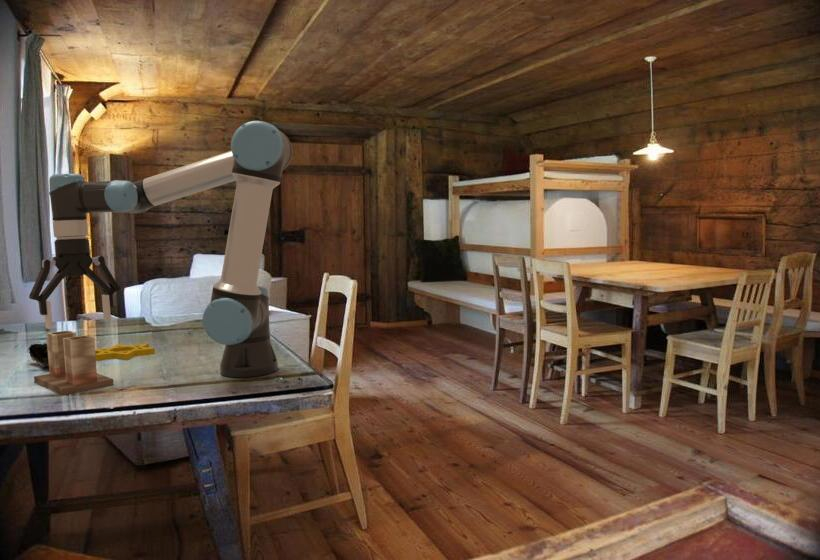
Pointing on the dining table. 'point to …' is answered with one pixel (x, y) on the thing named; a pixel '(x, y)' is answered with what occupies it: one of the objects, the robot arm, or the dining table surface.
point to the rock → (39, 353)
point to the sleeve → (80, 359)
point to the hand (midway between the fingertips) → (79, 324)
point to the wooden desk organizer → (57, 368)
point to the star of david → (123, 352)
